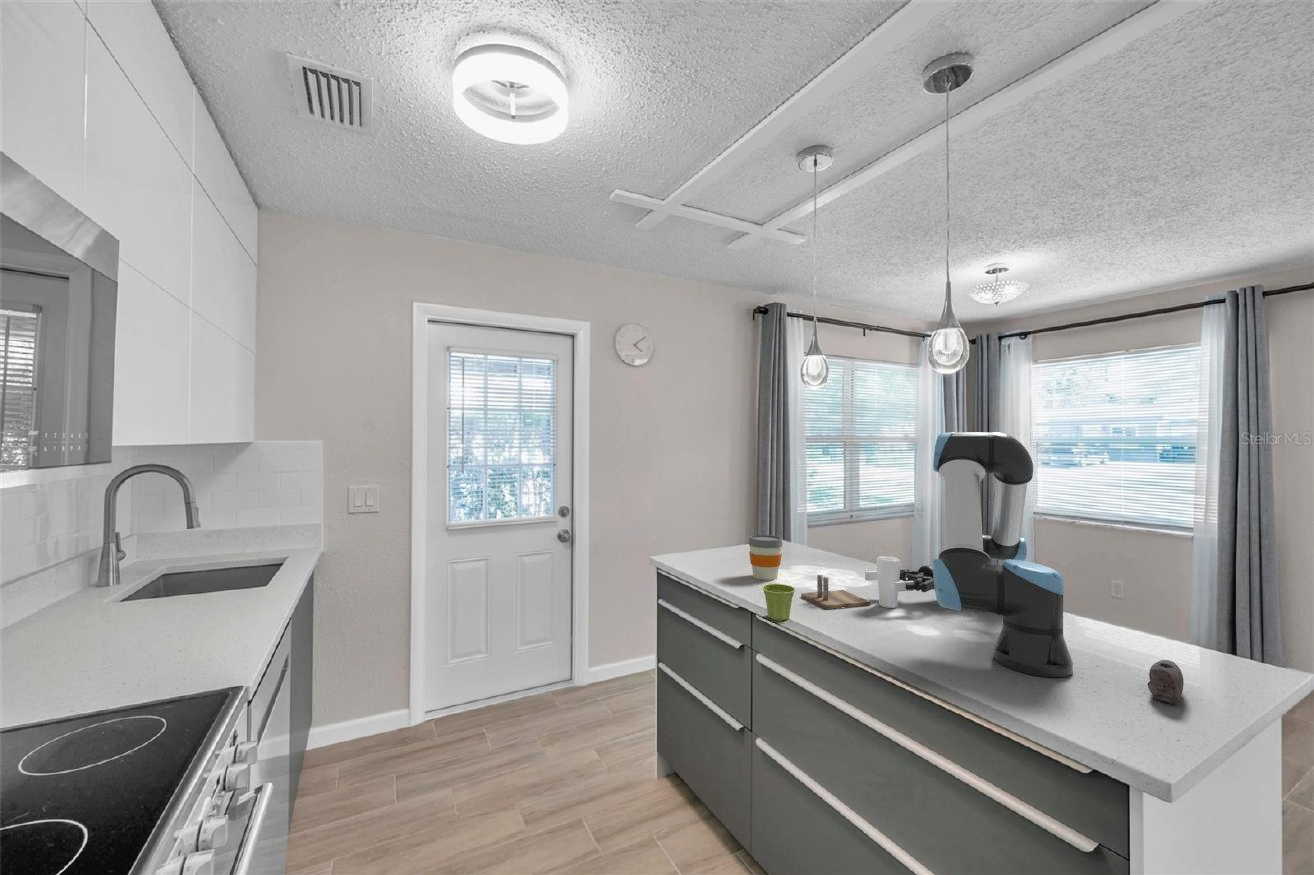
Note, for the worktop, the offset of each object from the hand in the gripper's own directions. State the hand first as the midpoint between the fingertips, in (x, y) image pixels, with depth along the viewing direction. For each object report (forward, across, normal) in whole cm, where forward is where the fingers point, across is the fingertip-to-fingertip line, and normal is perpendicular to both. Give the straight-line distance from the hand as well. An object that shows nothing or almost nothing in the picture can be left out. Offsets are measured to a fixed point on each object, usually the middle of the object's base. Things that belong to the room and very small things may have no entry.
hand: (880, 581), depth 171 cm
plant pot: (+36, -1, -8) cm, 37 cm away
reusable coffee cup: (+17, +43, -8) cm, 47 cm away
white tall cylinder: (-3, 0, -8) cm, 9 cm away
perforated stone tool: (-17, -66, -8) cm, 69 cm away
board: (+10, +9, -8) cm, 16 cm away
